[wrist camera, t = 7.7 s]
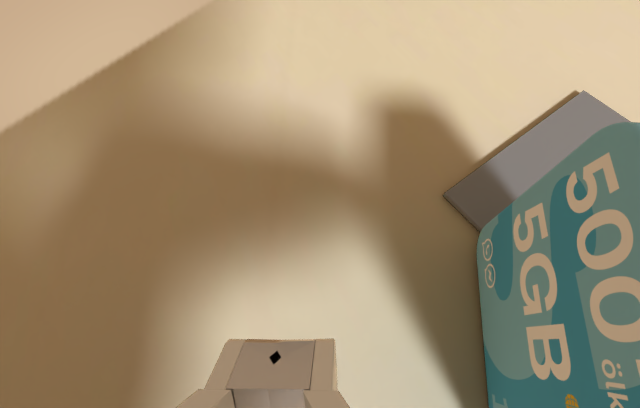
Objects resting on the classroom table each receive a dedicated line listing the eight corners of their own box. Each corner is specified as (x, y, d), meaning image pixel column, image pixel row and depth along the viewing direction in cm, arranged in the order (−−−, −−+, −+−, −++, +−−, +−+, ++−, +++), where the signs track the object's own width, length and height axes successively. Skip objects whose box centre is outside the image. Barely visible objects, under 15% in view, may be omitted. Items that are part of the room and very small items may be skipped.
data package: (473, 232, 20) (630, 96, 9) (550, 239, 19) (815, 103, 9) (491, 469, 15) (873, 790, 4) (594, 486, 15) (1321, 897, 4)
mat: (719, 468, 15) (728, 470, 15) (442, 195, 22) (444, 192, 21) (853, 279, 18) (863, 277, 18) (580, 94, 25) (583, 90, 25)
